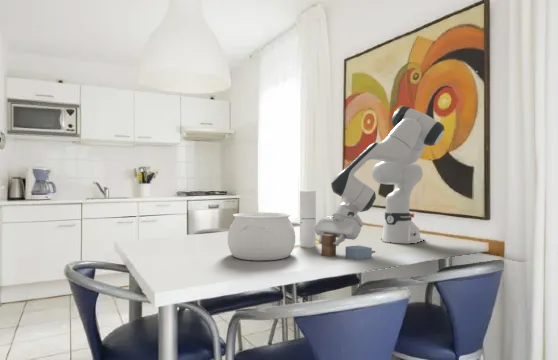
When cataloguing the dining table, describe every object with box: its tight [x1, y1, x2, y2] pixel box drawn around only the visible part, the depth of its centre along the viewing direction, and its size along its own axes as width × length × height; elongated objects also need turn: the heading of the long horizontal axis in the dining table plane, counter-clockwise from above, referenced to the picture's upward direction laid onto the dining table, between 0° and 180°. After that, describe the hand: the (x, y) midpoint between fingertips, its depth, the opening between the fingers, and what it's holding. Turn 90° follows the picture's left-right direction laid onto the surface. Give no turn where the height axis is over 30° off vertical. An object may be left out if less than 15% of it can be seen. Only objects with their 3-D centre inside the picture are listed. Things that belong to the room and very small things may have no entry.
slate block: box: [344, 245, 373, 260], centre depth 144 cm, size 7×7×4 cm
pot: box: [227, 212, 296, 262], centre depth 147 cm, size 29×26×16 cm
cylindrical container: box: [299, 190, 317, 248], centre depth 170 cm, size 7×7×25 cm
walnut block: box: [321, 234, 337, 257], centre depth 149 cm, size 4×4×8 cm
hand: (327, 243), depth 148 cm, fingers open, 6 cm apart
